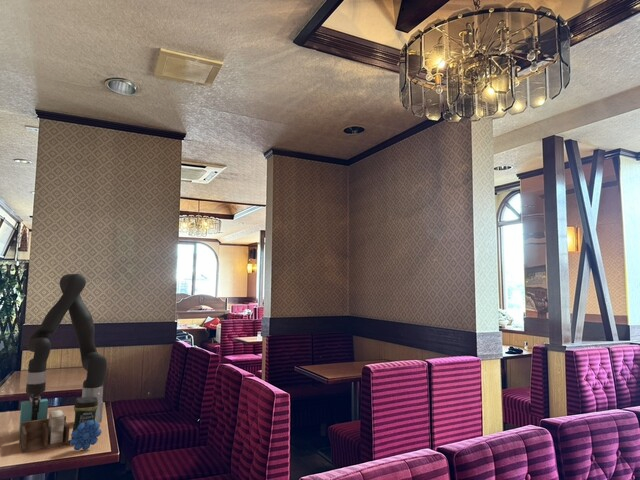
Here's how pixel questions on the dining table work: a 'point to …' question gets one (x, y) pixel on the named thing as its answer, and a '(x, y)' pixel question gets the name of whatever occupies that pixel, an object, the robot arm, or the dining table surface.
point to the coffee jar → (85, 410)
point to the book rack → (44, 433)
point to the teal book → (26, 411)
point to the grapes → (85, 435)
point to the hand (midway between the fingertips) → (33, 420)
